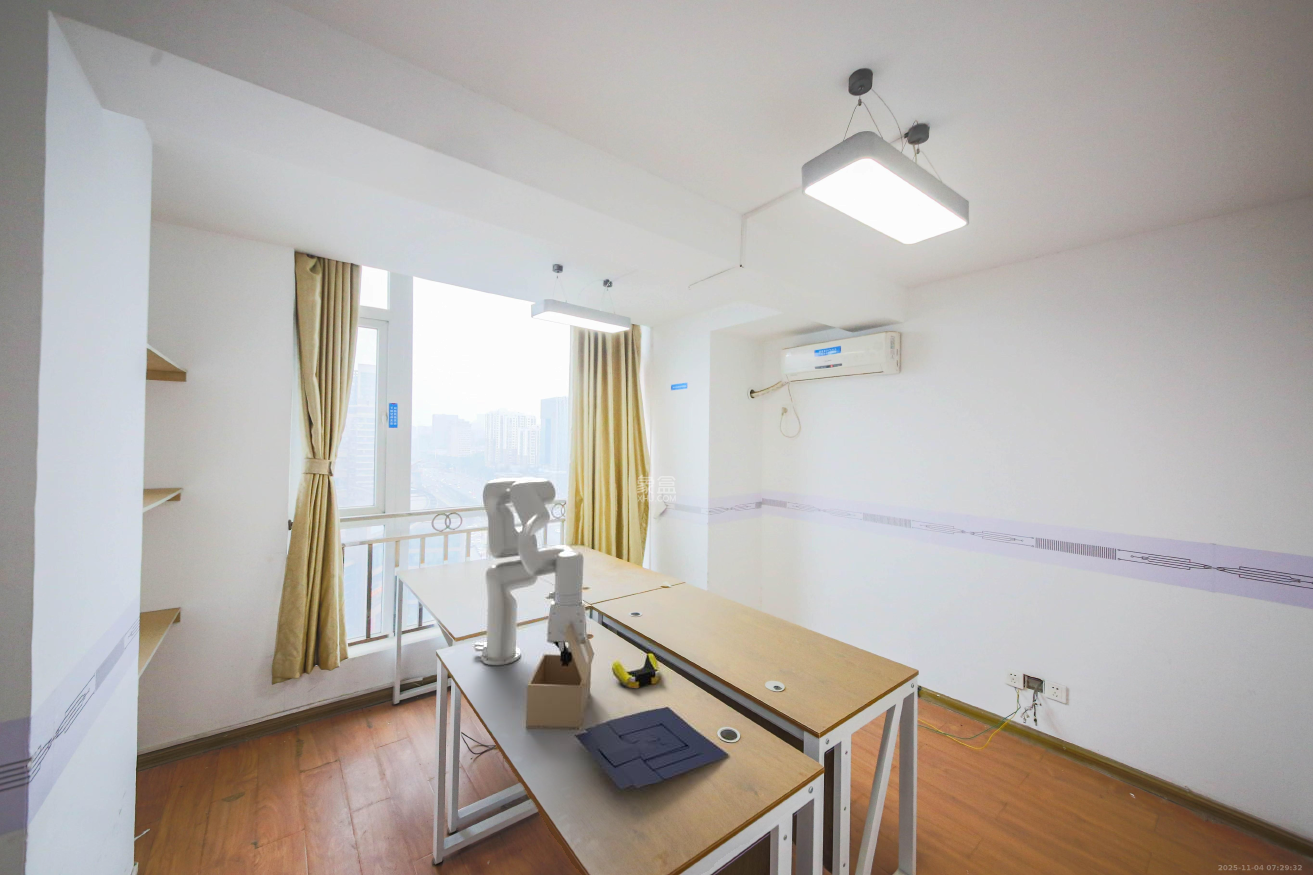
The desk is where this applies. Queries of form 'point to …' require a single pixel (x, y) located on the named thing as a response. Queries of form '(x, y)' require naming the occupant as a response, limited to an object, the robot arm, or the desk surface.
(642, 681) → the gaming controller
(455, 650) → the desk surface
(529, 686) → the carton
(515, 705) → the desk surface
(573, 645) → the flap
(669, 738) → the folded navy cloth
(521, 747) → the desk surface
